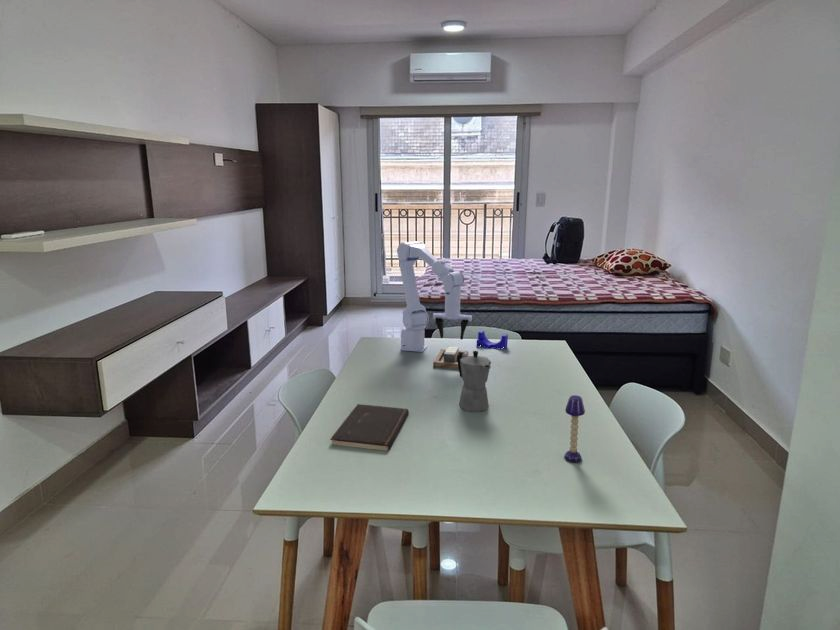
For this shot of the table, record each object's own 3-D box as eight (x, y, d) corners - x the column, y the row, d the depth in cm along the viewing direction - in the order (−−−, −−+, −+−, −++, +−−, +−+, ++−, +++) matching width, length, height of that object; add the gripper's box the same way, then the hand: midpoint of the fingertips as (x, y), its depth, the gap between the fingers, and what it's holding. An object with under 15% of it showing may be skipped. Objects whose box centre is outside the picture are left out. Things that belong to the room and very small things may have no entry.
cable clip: (476, 346, 227) (476, 333, 225) (480, 343, 230) (481, 330, 229) (503, 351, 221) (504, 337, 220) (507, 348, 225) (507, 334, 223)
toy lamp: (567, 464, 133) (573, 401, 129) (558, 455, 138) (562, 394, 134) (584, 461, 135) (590, 399, 131) (574, 452, 139) (579, 392, 135)
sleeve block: (448, 356, 212) (448, 346, 211) (458, 356, 212) (458, 346, 211) (443, 364, 203) (443, 353, 202) (454, 365, 202) (454, 354, 201)
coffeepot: (499, 410, 164) (502, 354, 160) (475, 417, 159) (477, 359, 155) (468, 393, 177) (469, 341, 172) (444, 399, 172) (445, 346, 167)
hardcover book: (330, 446, 142) (330, 438, 142) (357, 410, 164) (357, 403, 164) (388, 453, 139) (388, 445, 139) (408, 416, 161) (408, 408, 161)
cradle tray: (433, 367, 201) (433, 362, 201) (441, 353, 216) (441, 349, 216) (462, 369, 199) (462, 364, 198) (468, 356, 214) (468, 351, 213)
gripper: (431, 304, 200) (431, 339, 203) (470, 307, 197) (469, 342, 200) (435, 300, 206) (434, 334, 210) (472, 302, 203) (471, 337, 207)
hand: (451, 338), depth 205 cm, fingers open, 7 cm apart
